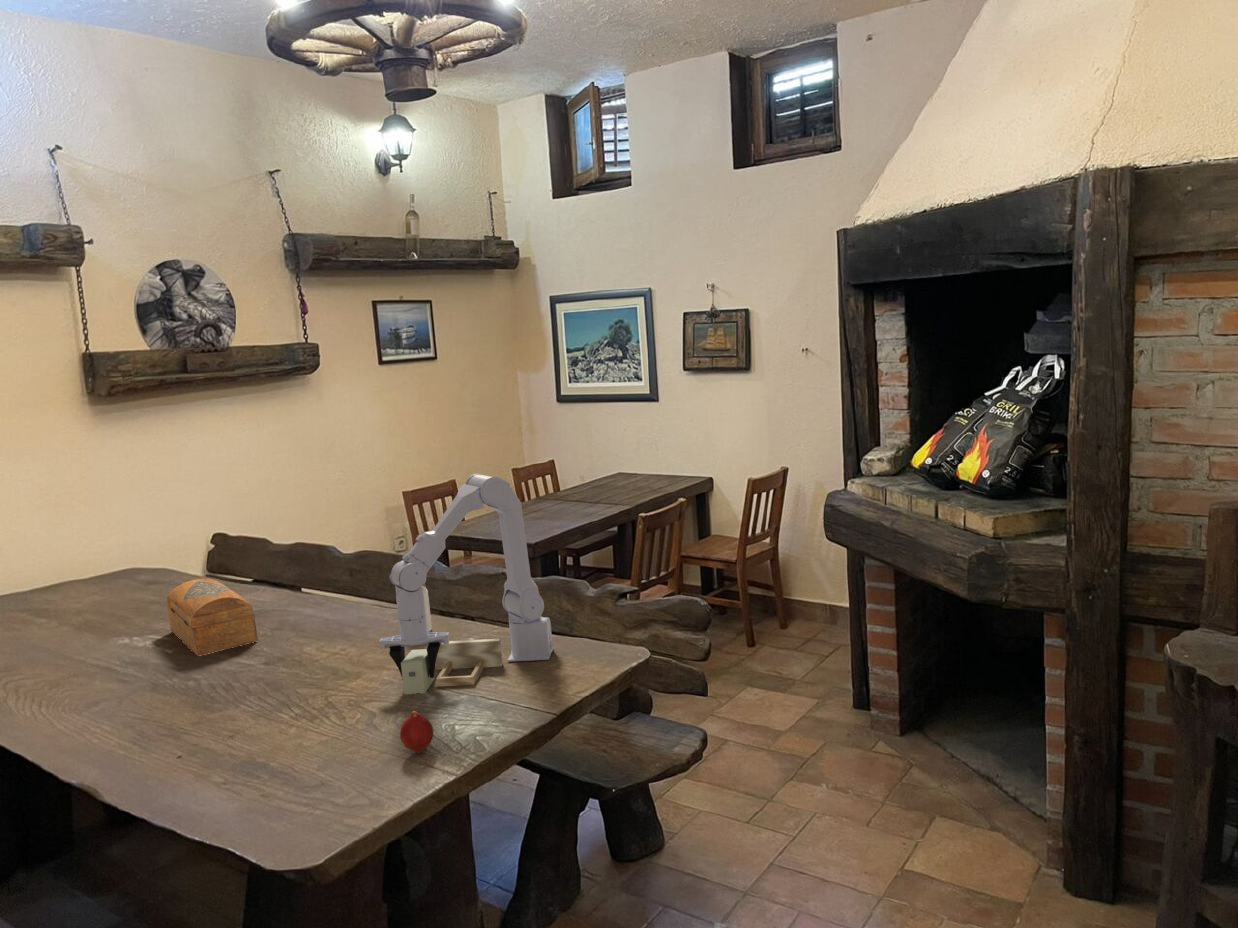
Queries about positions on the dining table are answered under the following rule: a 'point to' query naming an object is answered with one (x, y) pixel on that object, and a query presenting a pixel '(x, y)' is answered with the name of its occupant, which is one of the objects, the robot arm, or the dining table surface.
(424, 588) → the can
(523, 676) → the dining table surface
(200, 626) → the wooden box
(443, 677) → the wall board
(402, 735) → the onion
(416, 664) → the cabinet block
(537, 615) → the robot arm
